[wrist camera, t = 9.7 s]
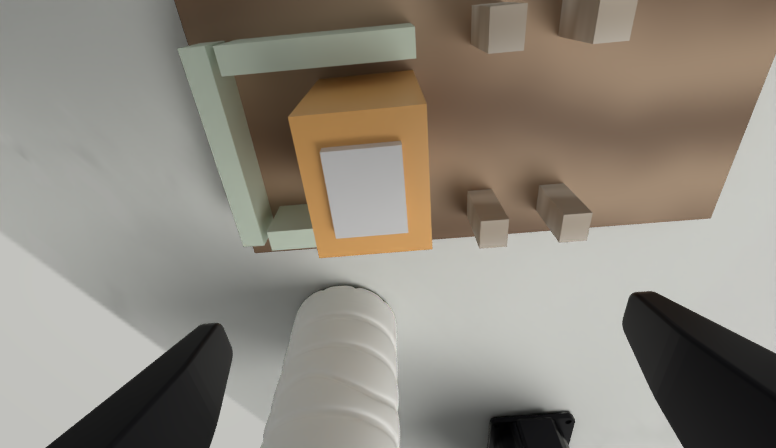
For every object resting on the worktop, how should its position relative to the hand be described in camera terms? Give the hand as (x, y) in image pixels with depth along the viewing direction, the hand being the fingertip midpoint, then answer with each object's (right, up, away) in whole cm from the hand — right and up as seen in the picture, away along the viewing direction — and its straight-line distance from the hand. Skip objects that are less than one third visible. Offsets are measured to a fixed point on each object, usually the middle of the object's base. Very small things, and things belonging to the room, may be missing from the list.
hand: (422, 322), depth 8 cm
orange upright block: (-1, +6, +9) cm, 11 cm away
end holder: (-4, +6, +9) cm, 12 cm away
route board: (+4, +7, +10) cm, 13 cm away
